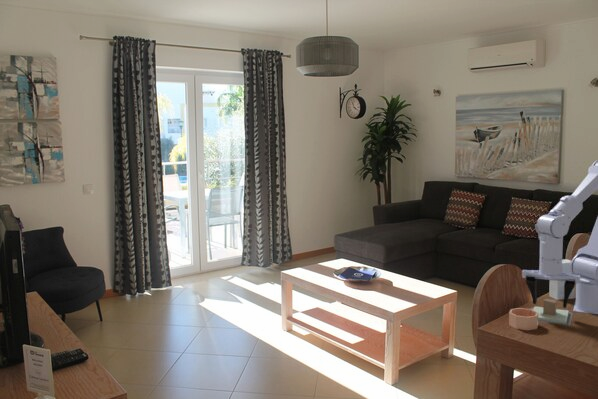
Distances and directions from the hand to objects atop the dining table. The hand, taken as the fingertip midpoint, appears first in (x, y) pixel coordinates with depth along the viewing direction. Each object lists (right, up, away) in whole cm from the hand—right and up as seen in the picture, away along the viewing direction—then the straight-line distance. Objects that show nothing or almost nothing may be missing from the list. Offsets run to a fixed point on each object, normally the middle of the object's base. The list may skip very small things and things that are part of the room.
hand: (549, 304), depth 148 cm
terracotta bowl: (-10, -5, -5) cm, 12 cm away
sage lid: (0, -3, 0) cm, 3 cm away
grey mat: (0, -4, 0) cm, 4 cm away
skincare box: (+11, -2, +16) cm, 20 cm away
